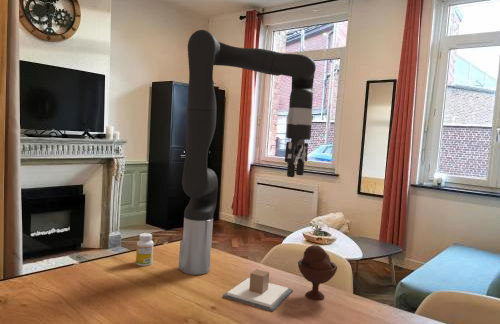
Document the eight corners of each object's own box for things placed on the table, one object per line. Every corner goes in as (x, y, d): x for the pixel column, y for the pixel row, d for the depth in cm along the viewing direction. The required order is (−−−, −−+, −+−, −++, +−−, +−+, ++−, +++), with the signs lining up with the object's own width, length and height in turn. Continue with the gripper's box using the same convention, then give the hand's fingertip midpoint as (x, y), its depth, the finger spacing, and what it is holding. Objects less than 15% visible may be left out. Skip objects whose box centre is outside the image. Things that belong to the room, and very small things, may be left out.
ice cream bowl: (335, 307, 100) (339, 253, 99) (293, 301, 102) (297, 247, 101) (334, 292, 110) (338, 242, 109) (296, 286, 112) (300, 238, 111)
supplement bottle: (140, 259, 126) (142, 231, 126) (155, 261, 125) (157, 233, 125) (132, 264, 121) (134, 235, 120) (148, 267, 120) (149, 237, 119)
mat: (222, 297, 101) (222, 294, 101) (247, 279, 115) (247, 278, 115) (273, 311, 95) (273, 309, 95) (292, 291, 108) (292, 289, 108)
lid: (227, 295, 101) (228, 274, 101) (248, 280, 113) (249, 261, 113) (270, 307, 96) (272, 285, 95) (288, 290, 107) (289, 271, 107)
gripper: (295, 124, 122) (291, 173, 123) (279, 121, 109) (275, 176, 110) (317, 125, 119) (313, 176, 120) (303, 122, 106) (299, 178, 107)
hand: (295, 176), depth 115 cm, fingers open, 8 cm apart
